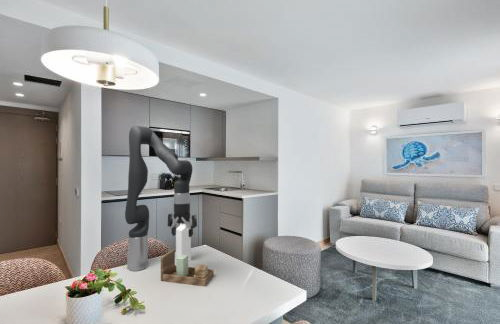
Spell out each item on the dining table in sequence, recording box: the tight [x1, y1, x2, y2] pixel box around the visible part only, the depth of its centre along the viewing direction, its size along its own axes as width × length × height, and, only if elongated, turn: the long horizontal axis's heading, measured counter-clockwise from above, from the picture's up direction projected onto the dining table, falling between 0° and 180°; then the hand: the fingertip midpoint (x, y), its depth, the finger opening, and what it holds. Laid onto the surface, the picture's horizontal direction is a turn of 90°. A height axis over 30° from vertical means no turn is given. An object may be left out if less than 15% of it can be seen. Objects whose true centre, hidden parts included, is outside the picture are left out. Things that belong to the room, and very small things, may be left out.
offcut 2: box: [194, 271, 209, 279], centre depth 116 cm, size 5×6×3 cm
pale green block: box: [175, 255, 189, 277], centre depth 119 cm, size 4×5×10 cm
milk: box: [175, 223, 192, 262], centre depth 140 cm, size 6×6×22 cm
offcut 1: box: [195, 264, 209, 276], centre depth 116 cm, size 4×5×3 cm
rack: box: [160, 249, 215, 287], centre depth 118 cm, size 22×11×12 cm, turn 76°
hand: (182, 235), depth 119 cm, fingers open, 8 cm apart
